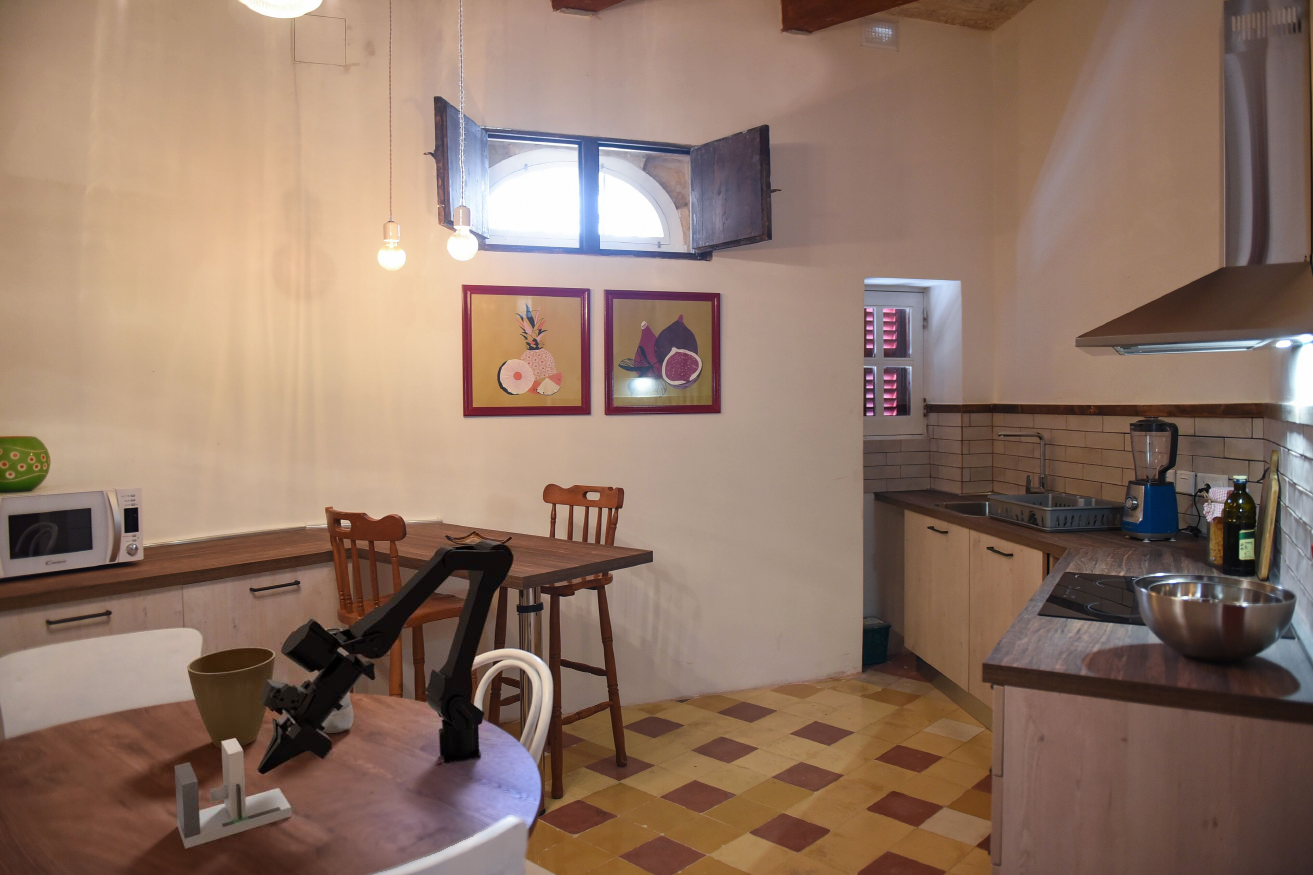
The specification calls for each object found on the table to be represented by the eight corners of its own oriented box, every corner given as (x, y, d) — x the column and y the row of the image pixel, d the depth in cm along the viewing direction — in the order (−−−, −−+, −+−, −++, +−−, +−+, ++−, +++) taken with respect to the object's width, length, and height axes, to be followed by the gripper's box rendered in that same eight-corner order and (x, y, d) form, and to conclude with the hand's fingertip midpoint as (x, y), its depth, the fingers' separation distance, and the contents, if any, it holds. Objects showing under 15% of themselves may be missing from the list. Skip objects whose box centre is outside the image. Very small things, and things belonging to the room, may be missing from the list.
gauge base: (279, 796, 134) (278, 787, 134) (291, 816, 128) (290, 806, 127) (177, 826, 125) (177, 815, 125) (185, 848, 119) (184, 837, 119)
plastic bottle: (342, 738, 157) (338, 635, 156) (310, 736, 158) (306, 634, 157) (360, 725, 163) (357, 626, 162) (330, 722, 164) (326, 625, 163)
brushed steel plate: (192, 812, 126) (189, 761, 126) (200, 833, 120) (197, 780, 120) (177, 816, 125) (174, 765, 125) (184, 838, 119) (182, 784, 118)
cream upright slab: (238, 799, 129) (235, 737, 129) (247, 817, 124) (244, 753, 123) (208, 807, 127) (205, 745, 126) (216, 827, 121) (213, 761, 120)
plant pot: (182, 740, 157) (178, 658, 156) (264, 719, 167) (261, 642, 166) (202, 765, 146) (198, 677, 145) (289, 741, 156) (285, 658, 155)
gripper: (277, 646, 138) (207, 727, 132) (307, 675, 123) (229, 768, 117) (328, 682, 143) (262, 761, 137) (361, 713, 128) (290, 804, 122)
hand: (259, 772), depth 128 cm, fingers closed
